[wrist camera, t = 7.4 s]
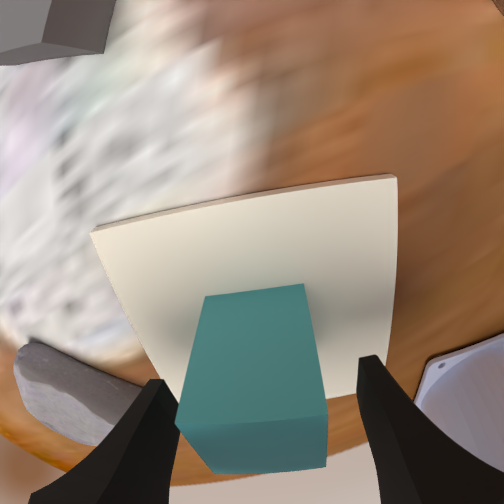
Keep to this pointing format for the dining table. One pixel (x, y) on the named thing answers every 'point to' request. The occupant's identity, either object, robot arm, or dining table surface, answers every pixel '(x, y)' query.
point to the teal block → (255, 385)
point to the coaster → (263, 268)
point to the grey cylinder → (499, 5)
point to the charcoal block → (52, 29)
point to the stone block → (71, 393)
